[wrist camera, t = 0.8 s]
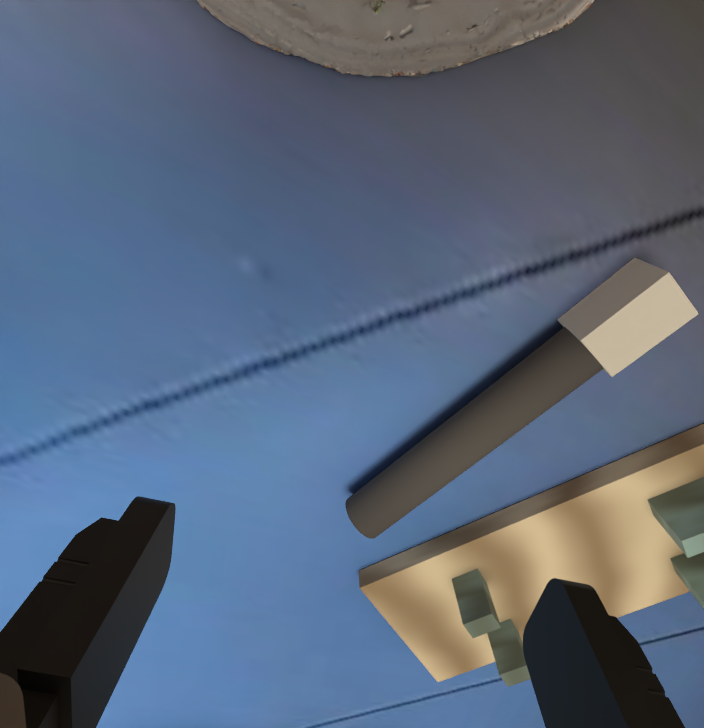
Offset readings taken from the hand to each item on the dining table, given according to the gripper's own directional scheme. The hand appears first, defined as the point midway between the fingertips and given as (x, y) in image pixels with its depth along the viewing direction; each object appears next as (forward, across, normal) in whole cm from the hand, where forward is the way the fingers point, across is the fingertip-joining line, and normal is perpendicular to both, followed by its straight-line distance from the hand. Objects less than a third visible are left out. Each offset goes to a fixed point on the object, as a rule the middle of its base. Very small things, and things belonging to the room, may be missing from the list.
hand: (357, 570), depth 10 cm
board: (+20, -20, +14) cm, 31 cm away
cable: (+19, -9, +4) cm, 21 cm away
